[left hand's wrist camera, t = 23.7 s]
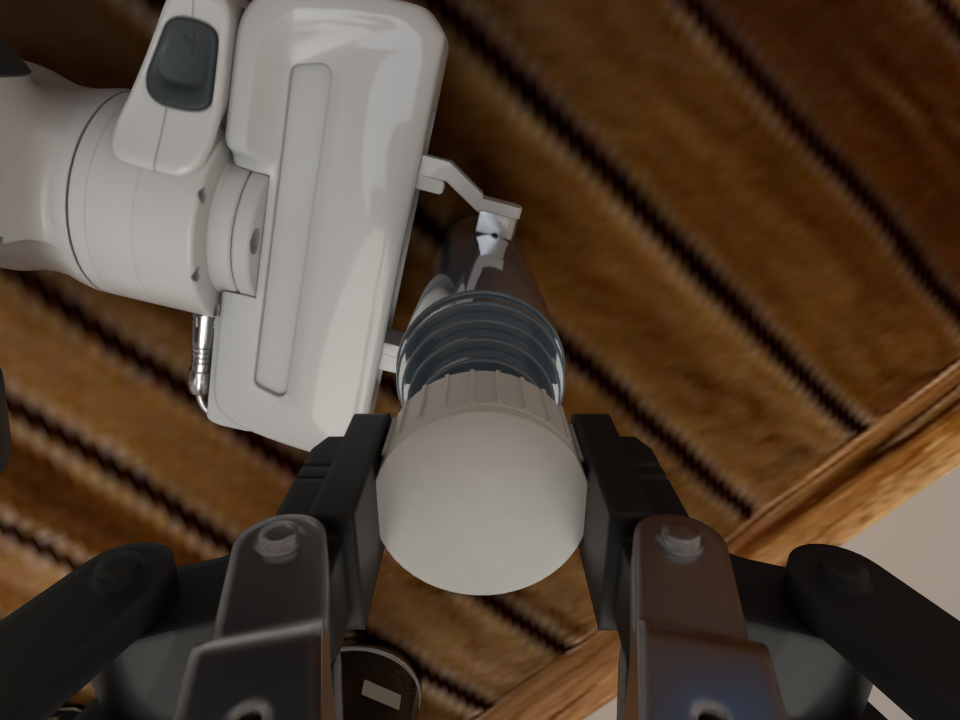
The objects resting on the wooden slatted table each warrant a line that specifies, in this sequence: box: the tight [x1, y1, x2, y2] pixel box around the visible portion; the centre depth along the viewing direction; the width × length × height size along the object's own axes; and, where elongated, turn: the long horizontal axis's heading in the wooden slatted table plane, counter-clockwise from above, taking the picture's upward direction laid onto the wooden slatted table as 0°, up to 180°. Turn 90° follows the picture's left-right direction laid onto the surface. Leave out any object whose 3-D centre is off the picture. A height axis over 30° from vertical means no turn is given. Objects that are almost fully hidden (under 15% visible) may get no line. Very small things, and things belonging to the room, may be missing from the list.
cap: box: [376, 369, 587, 595], centre depth 11 cm, size 4×4×2 cm
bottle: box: [396, 215, 566, 408], centre depth 22 cm, size 5×5×23 cm
